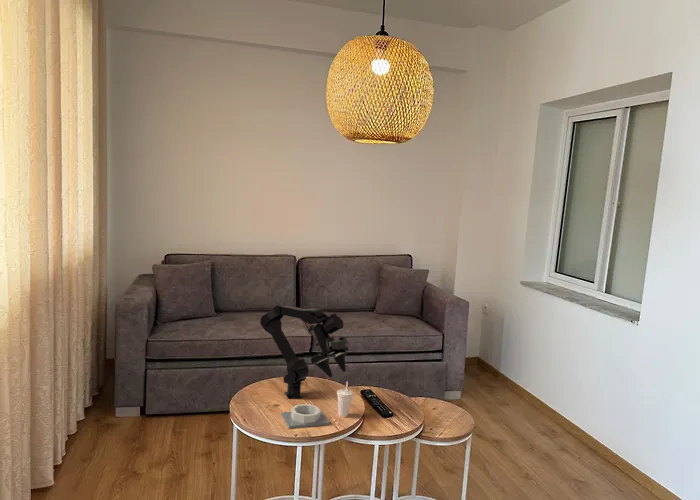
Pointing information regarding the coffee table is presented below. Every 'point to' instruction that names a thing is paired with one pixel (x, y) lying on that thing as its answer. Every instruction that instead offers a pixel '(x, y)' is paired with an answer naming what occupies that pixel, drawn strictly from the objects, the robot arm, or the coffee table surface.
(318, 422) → the bottle stand
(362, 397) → the coffee table surface
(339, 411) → the smoothie
